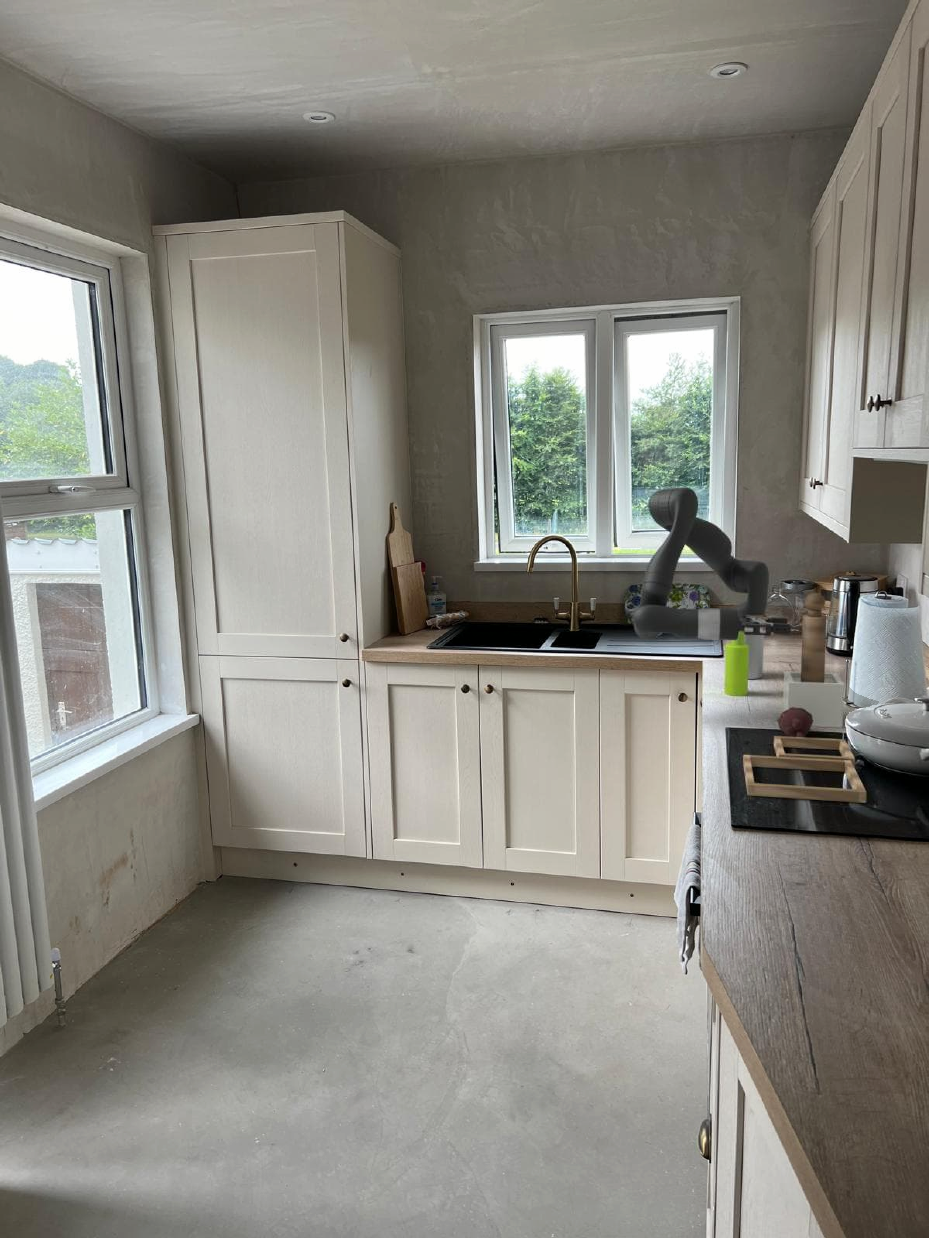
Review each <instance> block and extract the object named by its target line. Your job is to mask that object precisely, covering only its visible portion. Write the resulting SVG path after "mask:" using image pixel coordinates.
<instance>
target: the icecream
mask: <svg viewBox="0 0 929 1238" xmlns="http://www.w3.org/2000/svg"><path fill="white" fill-rule="evenodd" d="M812 723H813V719H812V715H811V714H810V713H809V712H807V711H806V710H805V709H803V708H795V707H791V708H790V709H788V710H786V711H784V712H783V711H782V713H781V714H780V716H779V717H778V719H777V724H778V728H779V729H780V730H781V731H782V732H783V733H784V734H785V735H786V736H787V737H806V735H808V733H810V732H811V727H812V726H811V725H812Z"/></svg>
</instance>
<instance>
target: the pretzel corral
mask: <svg viewBox="0 0 929 1238" xmlns="http://www.w3.org/2000/svg"><path fill="white" fill-rule="evenodd" d="M742 761H743V762H742V764H743V771H744V772H743V773H744V779H745V786H746V792H747V796H755V797H767V798H768V797H771V798H785V799H797V800H798V799H799V800H818V801H832V802H833V801H834V802H846V803H847V802H849V803H859V804H860V803H861V804H862V803H863V804H865V803H867V791H866V788H865V787H864V784H863V783H862V780H861V779H860V777H859V774H858V772H857V771H856V769H855V768H854V766H853V764H852V762H851V761H849V760H831V759H812V758H794V757H777V756H773V755H771V756H770V755H754V754H743V760H742ZM757 767H758V768H771V769H789V770H790V769H791V770H807V771H827V772H839V773H840V772H842V773H843V772H844V774H845V776H846V778H847V781H848V782H849V784H850V786H851V789H850V788H841V787H840V788H838V787H822V786H806V785H791V784H790V785H788V784H775V783H773V784H772V783H759V782H755V780H754V772H753V768H757Z"/></svg>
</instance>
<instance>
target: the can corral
mask: <svg viewBox="0 0 929 1238" xmlns="http://www.w3.org/2000/svg"><path fill="white" fill-rule="evenodd" d="M773 747H774V752H775V754H776V756H775V757H794V758H812V759H831V760H849V761H851V762H852V764H853V766H854V768H855V766H856V758H855V756H854V754H853V753H852V750H851V748H850V747H849V745H848V743H847V741H846V739H842V738H841V739H840V738H826V737H825V738H824V737H823V738H821V737H806V736H804V737H790V736H783V735H774V736H773ZM784 748H796V749H798V748H799V749H818V750H836V751H839V752H840V755H841V756H840V755H839V756H837V755H823V754H822V755H820V754H802V753H801V754H800V753H786V752H785V750H784Z"/></svg>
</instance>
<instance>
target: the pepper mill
mask: <svg viewBox="0 0 929 1238" xmlns="http://www.w3.org/2000/svg"><path fill="white" fill-rule="evenodd" d="M804 605H805V607H806V609H807V614H803V615H802V623H801V624H802V625H801V626H802V629H801V630H802V631H801V656H800V657H801V659H800V660H801V661H800V663H801V665H800V666H801V667H800V672H801V682H817V683H824V675H825V673H826V672H825V671H826V670H825V669H826V642H827V641H826V637H827V615H825V614H822V611H823V608H824V607H825V606H826V599H825V597H824V596H823V594H821V593H819V592H812V593H809V594H808V595H807V596H806V597H805V599H804Z"/></svg>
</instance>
